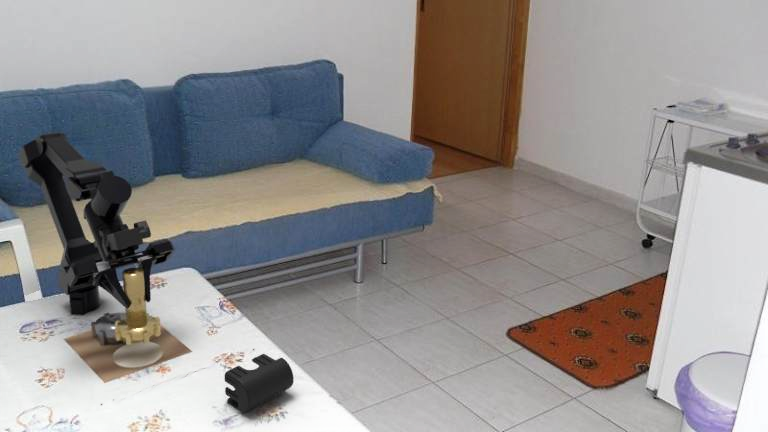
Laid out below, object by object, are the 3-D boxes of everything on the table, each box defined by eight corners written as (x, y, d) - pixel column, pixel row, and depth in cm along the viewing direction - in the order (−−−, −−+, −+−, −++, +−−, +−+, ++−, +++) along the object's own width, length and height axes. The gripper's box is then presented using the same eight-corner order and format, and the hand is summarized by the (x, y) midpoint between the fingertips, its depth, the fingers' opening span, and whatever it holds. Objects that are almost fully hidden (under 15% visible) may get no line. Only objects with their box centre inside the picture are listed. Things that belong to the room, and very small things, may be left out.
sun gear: (87, 332, 150) (85, 313, 149) (127, 320, 155) (125, 302, 154) (105, 351, 144) (103, 331, 143) (146, 337, 149) (144, 318, 148)
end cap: (249, 421, 128) (248, 386, 125) (223, 404, 132) (221, 370, 130) (294, 396, 135) (294, 363, 133) (268, 381, 139) (267, 348, 137)
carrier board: (64, 345, 148) (63, 337, 148) (146, 319, 159) (146, 311, 158) (105, 390, 135) (104, 381, 134) (192, 358, 146) (192, 350, 145)
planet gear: (126, 320, 145) (120, 260, 140) (168, 324, 144) (163, 264, 140) (106, 342, 137) (100, 279, 133) (150, 346, 136) (145, 284, 132)
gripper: (64, 220, 129) (97, 303, 125) (167, 198, 141) (199, 273, 137) (53, 247, 137) (83, 326, 134) (150, 224, 149) (181, 296, 145)
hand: (138, 304), depth 137 cm, fingers closed on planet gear, 4 cm apart
